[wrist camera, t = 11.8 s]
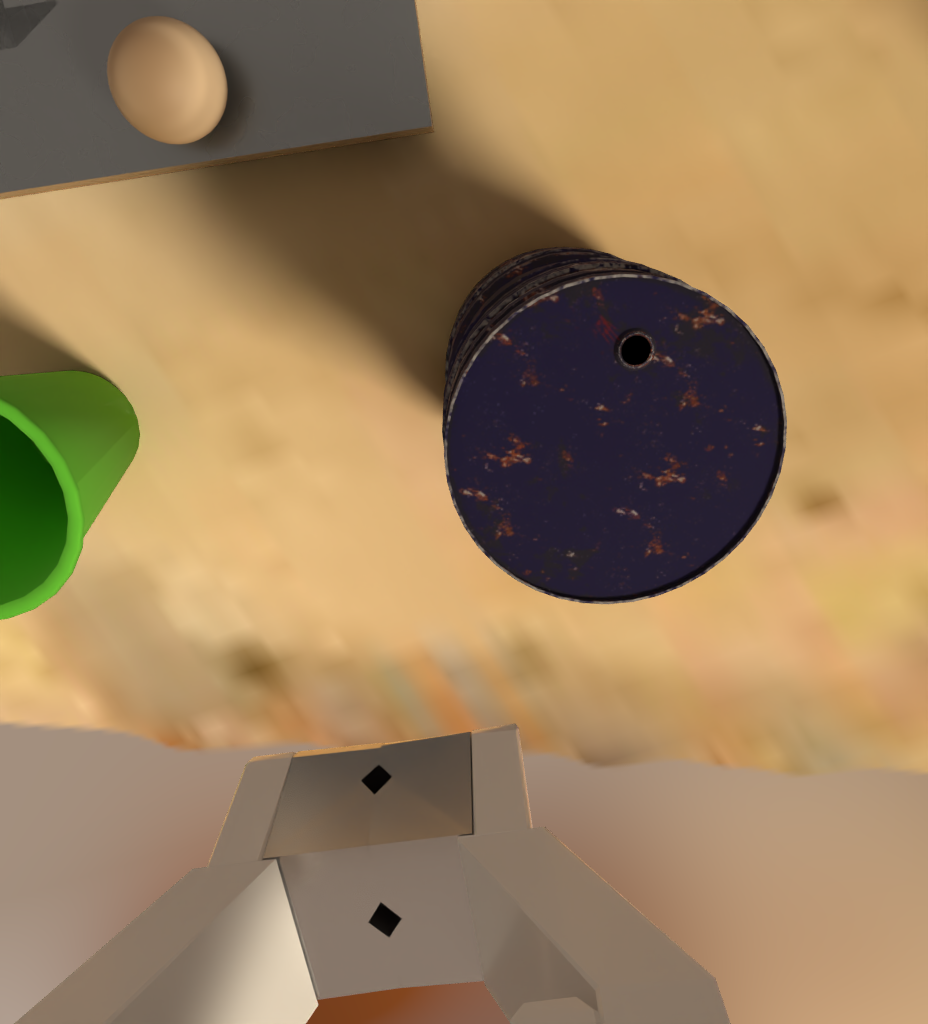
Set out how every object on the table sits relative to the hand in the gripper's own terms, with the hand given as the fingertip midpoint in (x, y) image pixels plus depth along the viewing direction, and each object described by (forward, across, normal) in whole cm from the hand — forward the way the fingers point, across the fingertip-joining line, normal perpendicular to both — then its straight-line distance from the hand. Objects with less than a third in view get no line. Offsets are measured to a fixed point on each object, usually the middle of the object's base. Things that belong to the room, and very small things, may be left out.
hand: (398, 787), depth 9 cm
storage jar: (+29, -5, +1) cm, 30 cm away
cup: (+29, +17, +1) cm, 34 cm away
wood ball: (+25, +8, -12) cm, 28 cm away
